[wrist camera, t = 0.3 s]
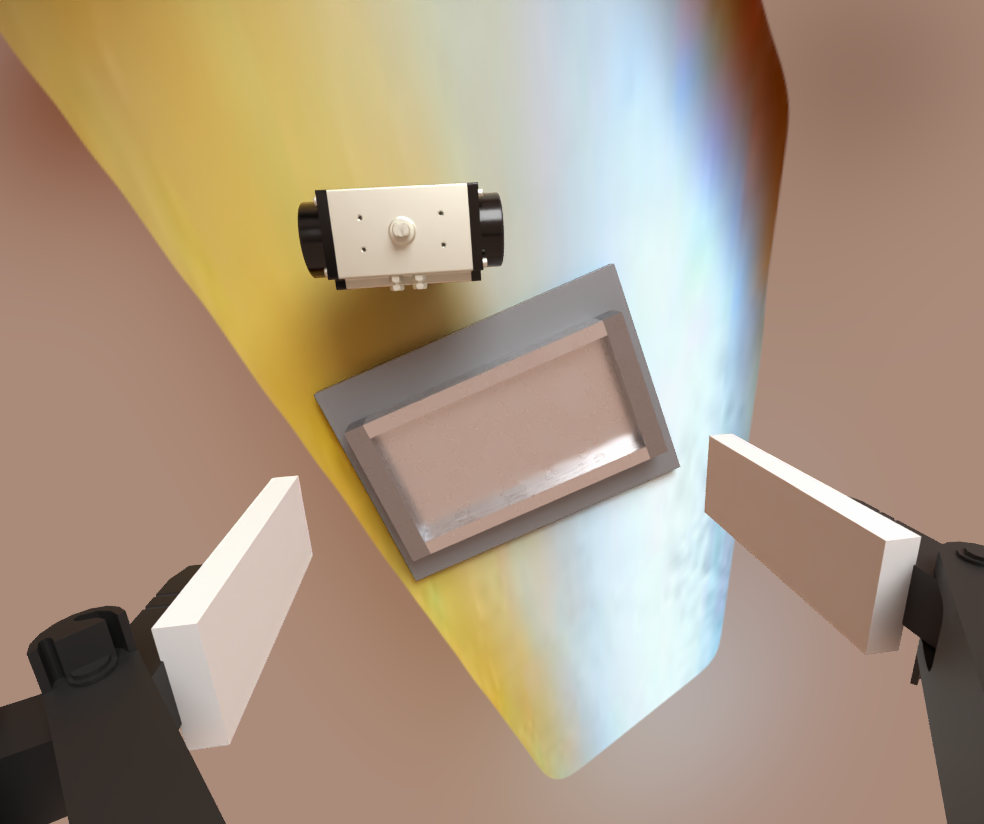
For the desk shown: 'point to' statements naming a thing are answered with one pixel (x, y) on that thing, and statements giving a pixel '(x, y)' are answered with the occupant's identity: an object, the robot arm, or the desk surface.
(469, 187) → the pneumatic valve
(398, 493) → the shallow rectangular tray
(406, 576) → the desk surface
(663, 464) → the mounting board
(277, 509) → the robot arm
